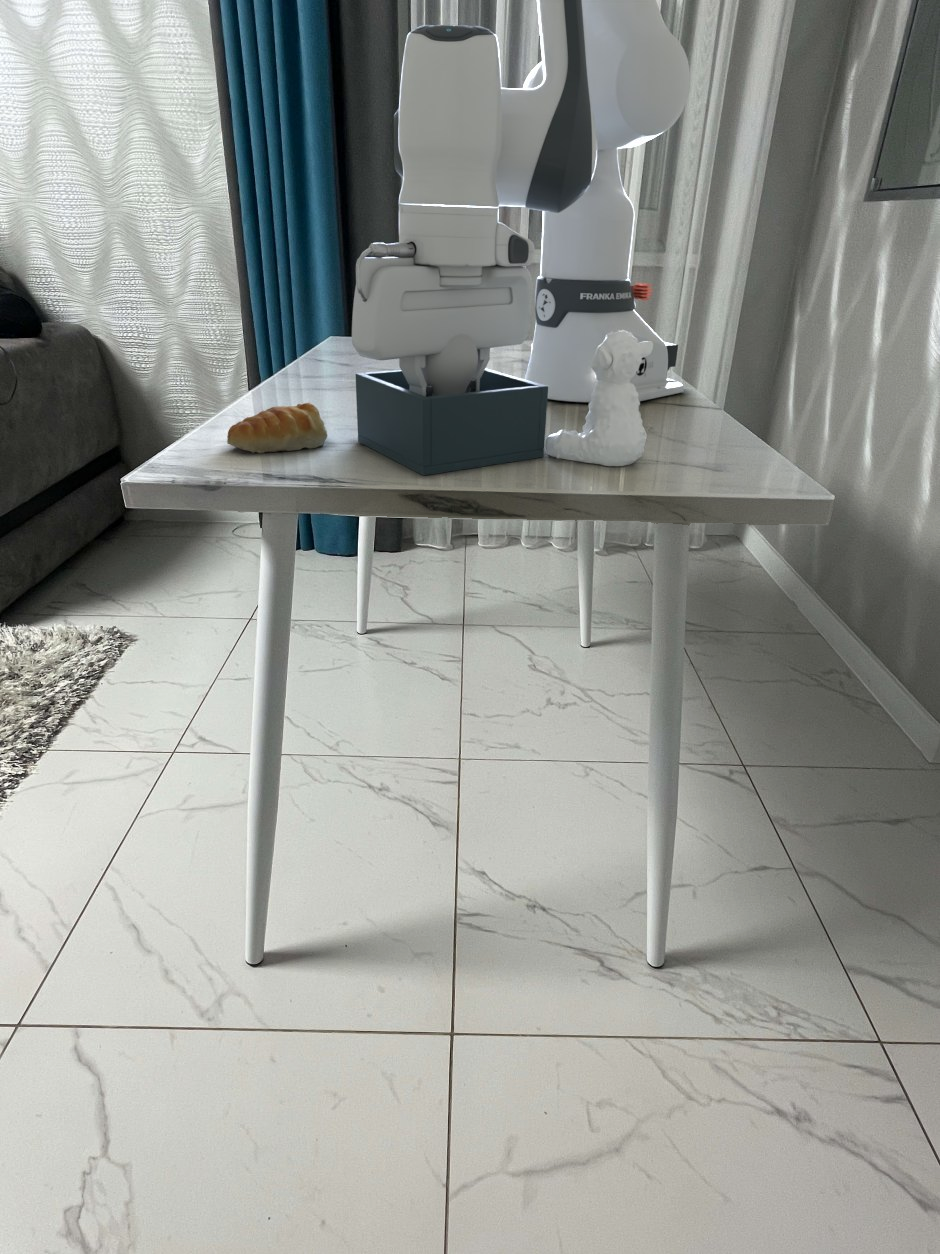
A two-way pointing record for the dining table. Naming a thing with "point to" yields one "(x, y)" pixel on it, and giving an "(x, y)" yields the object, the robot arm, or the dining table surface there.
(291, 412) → the pastry
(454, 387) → the lightbulb
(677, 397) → the dining table surface
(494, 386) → the bin
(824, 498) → the dining table surface
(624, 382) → the sitting furry creature
